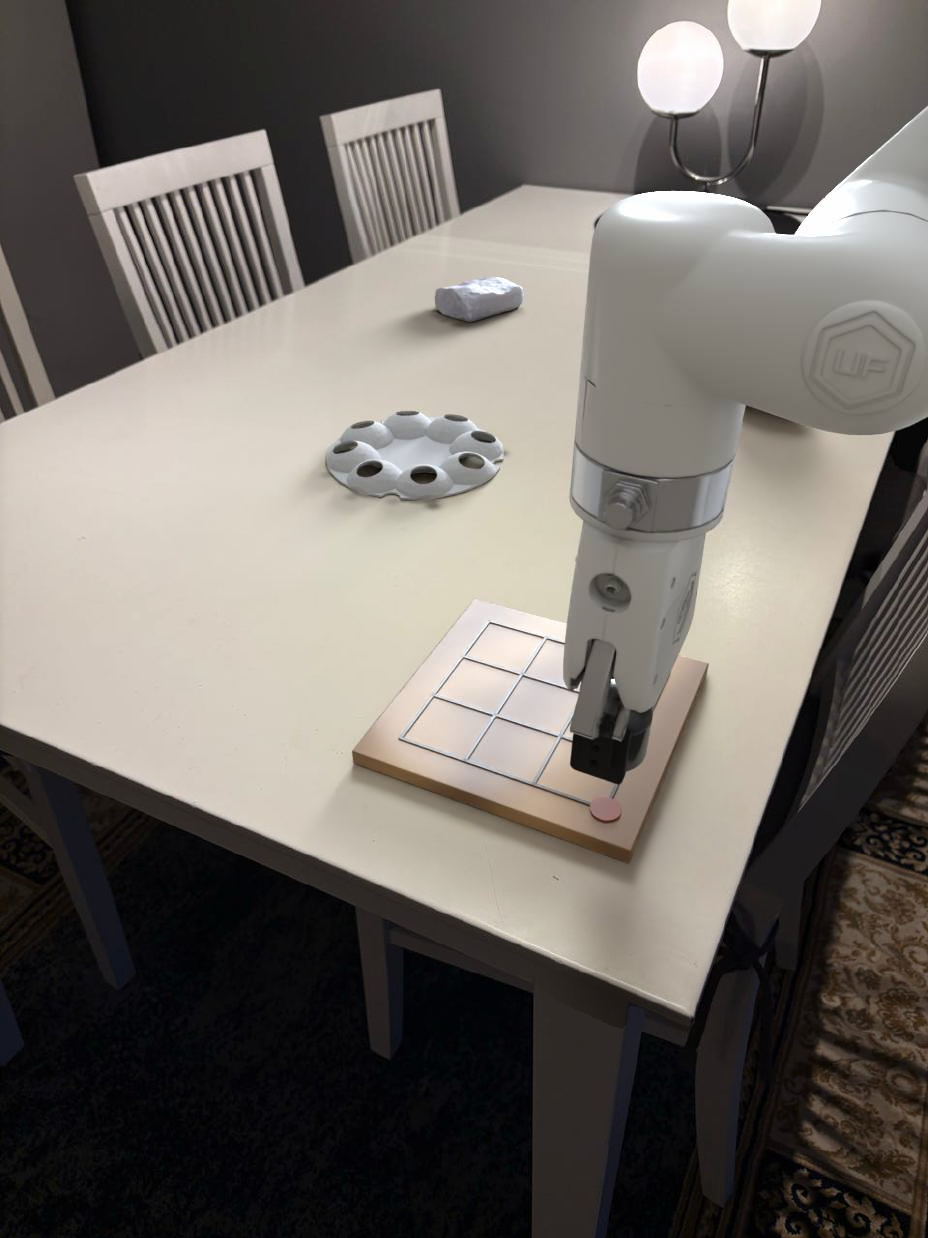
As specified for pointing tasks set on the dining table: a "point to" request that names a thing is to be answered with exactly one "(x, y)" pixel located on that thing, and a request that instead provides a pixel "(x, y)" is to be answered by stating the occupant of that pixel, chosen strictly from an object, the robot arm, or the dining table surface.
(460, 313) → the block
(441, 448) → the round palette
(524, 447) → the dining table surface
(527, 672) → the game board
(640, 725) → the grey metallic short cylinder
